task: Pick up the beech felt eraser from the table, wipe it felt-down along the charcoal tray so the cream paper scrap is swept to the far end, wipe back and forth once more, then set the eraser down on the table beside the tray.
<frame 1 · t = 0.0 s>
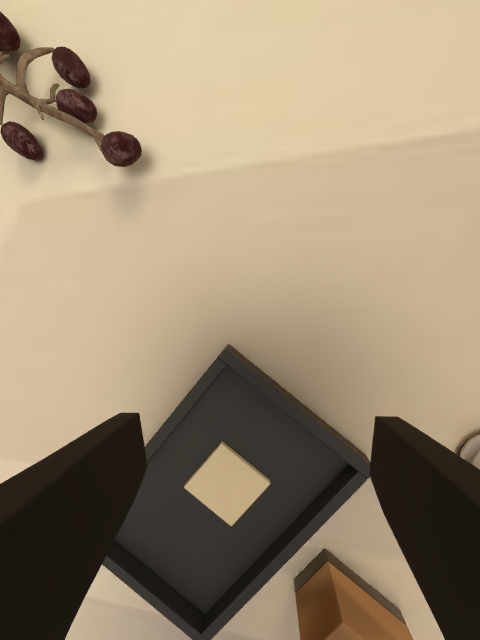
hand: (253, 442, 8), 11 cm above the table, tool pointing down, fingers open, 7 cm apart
paper scrap: (227, 481, 19), resting on tray
tray: (217, 489, 19), on the table
eraser: (346, 594, 19), on the table
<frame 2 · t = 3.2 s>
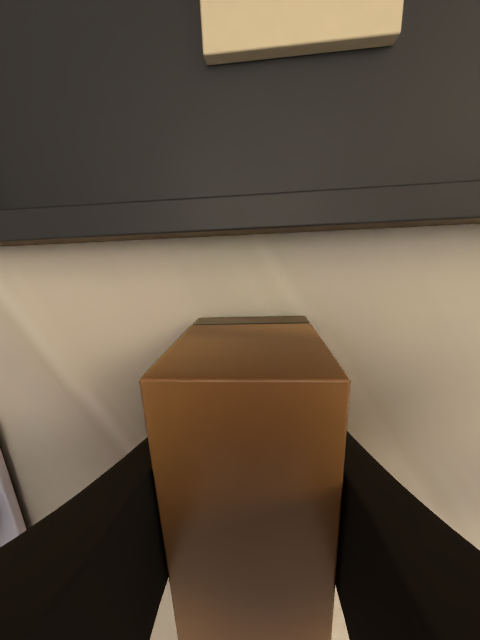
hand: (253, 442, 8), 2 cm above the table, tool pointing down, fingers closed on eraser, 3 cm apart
eraser: (253, 411, 9), on the table, touching gripper
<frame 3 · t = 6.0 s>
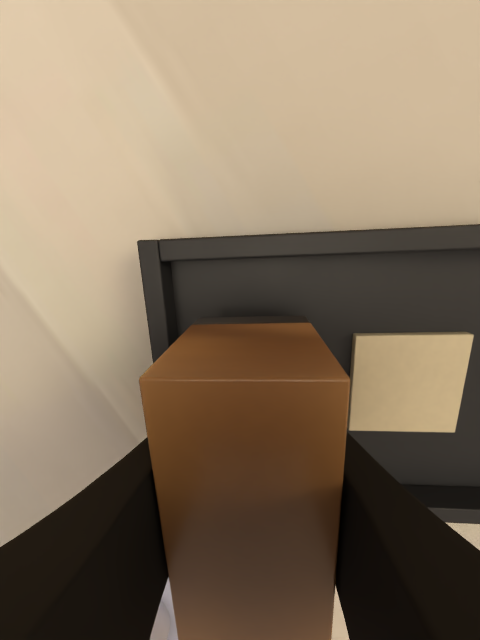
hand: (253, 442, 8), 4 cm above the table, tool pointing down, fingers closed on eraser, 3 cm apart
paper scrap: (402, 381, 11), resting on tray
tray: (366, 376, 12), on the table
eraser: (253, 411, 9), point 3 cm above the table, touching gripper
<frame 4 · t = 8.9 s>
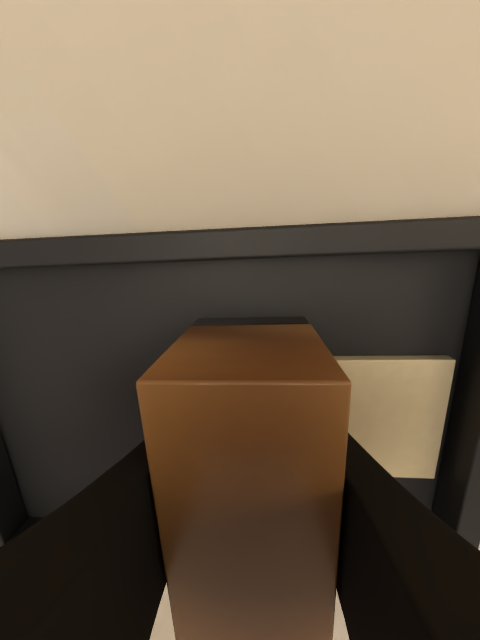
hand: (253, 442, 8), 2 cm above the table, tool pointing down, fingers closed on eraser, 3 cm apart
paper scrap: (368, 415, 9), resting on tray, touching eraser
tray: (206, 404, 10), on the table
eraser: (253, 413, 9), resting on tray, touching gripper, paper scrap
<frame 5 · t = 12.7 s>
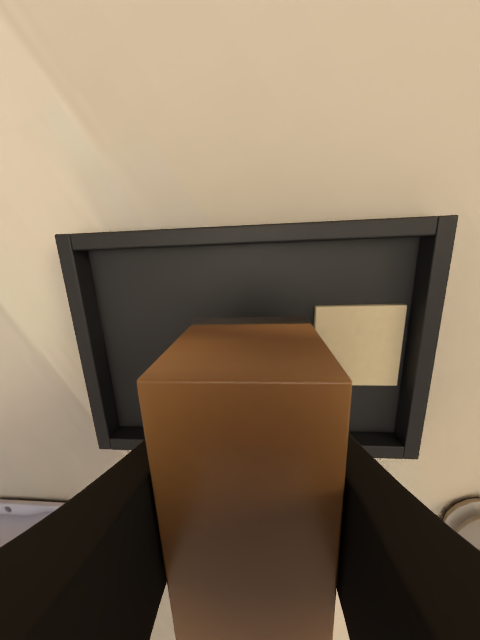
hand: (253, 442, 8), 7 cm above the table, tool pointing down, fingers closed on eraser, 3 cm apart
paper scrap: (354, 344, 14), resting on tray
rook chess piece: (471, 517, 17), on the table
tray: (248, 342, 15), on the table
eraser: (253, 412, 9), point 6 cm above the table, touching gripper
when the fingers open (1 cm above the table, at t = 15.7 s): eraser stays where it is, on the table.
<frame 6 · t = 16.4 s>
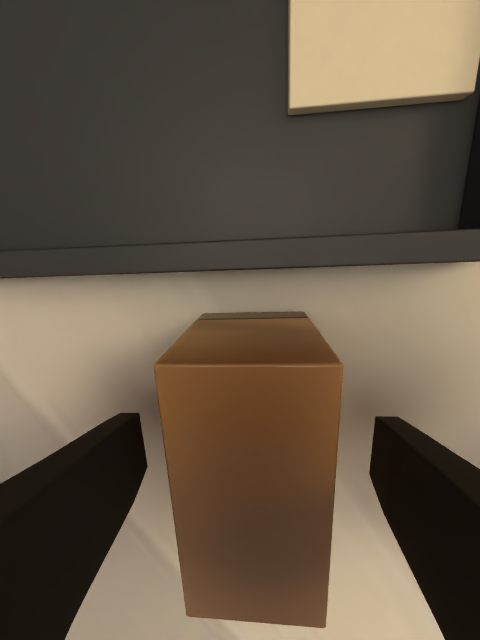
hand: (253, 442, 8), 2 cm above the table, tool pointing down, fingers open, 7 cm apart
paper scrap: (380, 1, 6), resting on tray
tray: (157, 44, 7), on the table
eraser: (255, 402, 10), on the table
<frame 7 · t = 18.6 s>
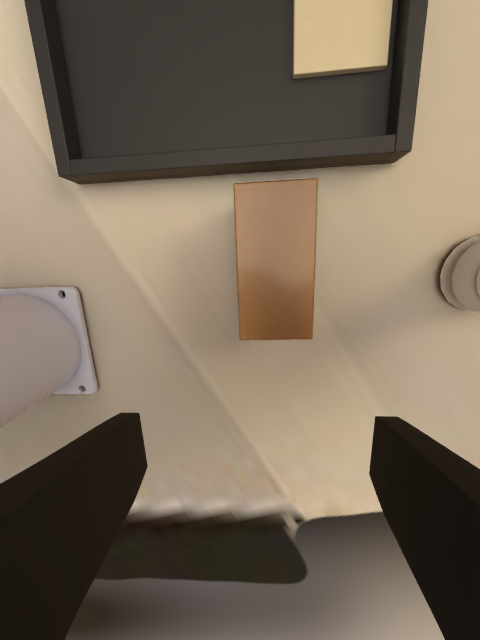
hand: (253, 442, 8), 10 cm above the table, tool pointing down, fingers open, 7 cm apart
paper scrap: (340, 19, 12), resting on tray
rook chess piece: (471, 272, 15), on the table
tray: (222, 41, 13), on the table
eraser: (271, 262, 16), on the table
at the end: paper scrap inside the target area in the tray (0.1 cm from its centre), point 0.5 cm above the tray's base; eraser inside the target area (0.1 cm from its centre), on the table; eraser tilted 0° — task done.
